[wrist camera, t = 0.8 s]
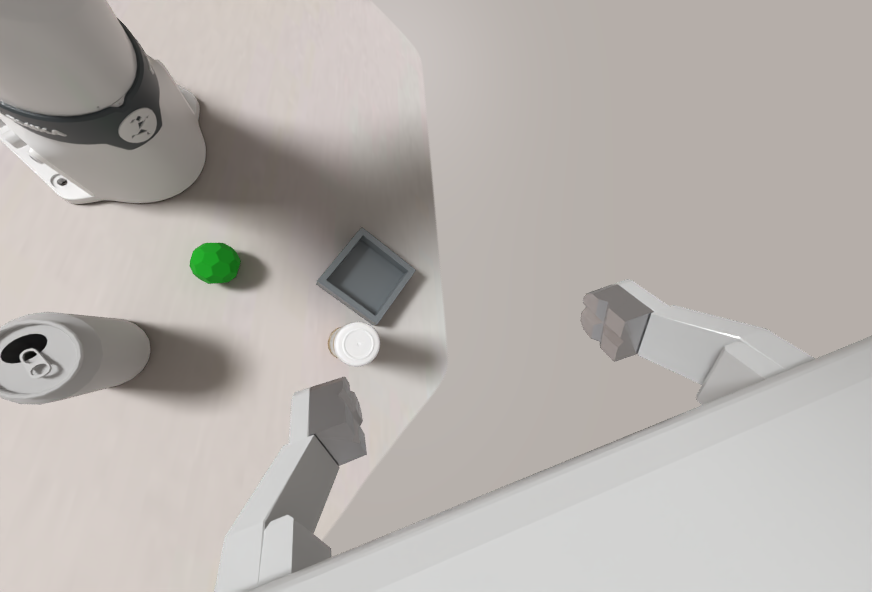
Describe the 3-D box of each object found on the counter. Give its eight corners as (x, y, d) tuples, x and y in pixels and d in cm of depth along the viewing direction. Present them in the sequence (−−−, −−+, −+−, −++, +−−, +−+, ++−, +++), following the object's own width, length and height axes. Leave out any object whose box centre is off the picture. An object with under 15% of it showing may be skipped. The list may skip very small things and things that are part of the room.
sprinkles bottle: (352, 364, 46) (369, 374, 33) (321, 351, 44) (327, 356, 32) (366, 333, 47) (388, 332, 34) (336, 320, 46) (347, 314, 33)
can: (124, 305, 37) (47, 291, 26) (169, 356, 38) (113, 364, 27) (48, 347, 35) (-74, 352, 24) (99, 401, 36) (5, 430, 24)
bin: (316, 284, 45) (317, 281, 42) (358, 233, 48) (361, 226, 45) (372, 325, 47) (377, 324, 44) (409, 273, 50) (415, 270, 47)
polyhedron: (251, 261, 43) (245, 253, 38) (228, 294, 41) (218, 289, 37) (213, 240, 41) (202, 228, 37) (187, 272, 40) (172, 264, 35)
